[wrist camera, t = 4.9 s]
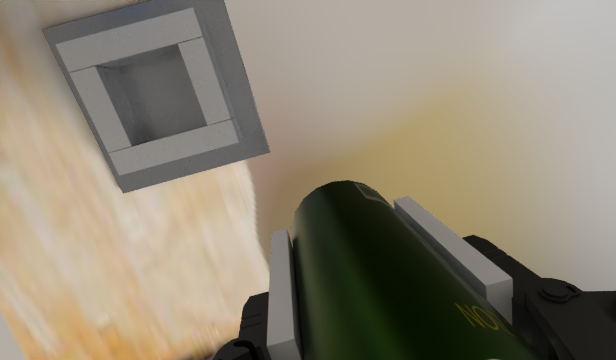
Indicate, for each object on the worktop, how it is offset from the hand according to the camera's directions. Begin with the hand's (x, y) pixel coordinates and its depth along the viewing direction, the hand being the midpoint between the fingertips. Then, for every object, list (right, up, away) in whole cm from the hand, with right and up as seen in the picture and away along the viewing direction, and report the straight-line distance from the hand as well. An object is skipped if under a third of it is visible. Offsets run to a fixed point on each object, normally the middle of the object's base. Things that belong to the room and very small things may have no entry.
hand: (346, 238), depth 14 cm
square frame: (-16, +11, +15) cm, 24 cm away
